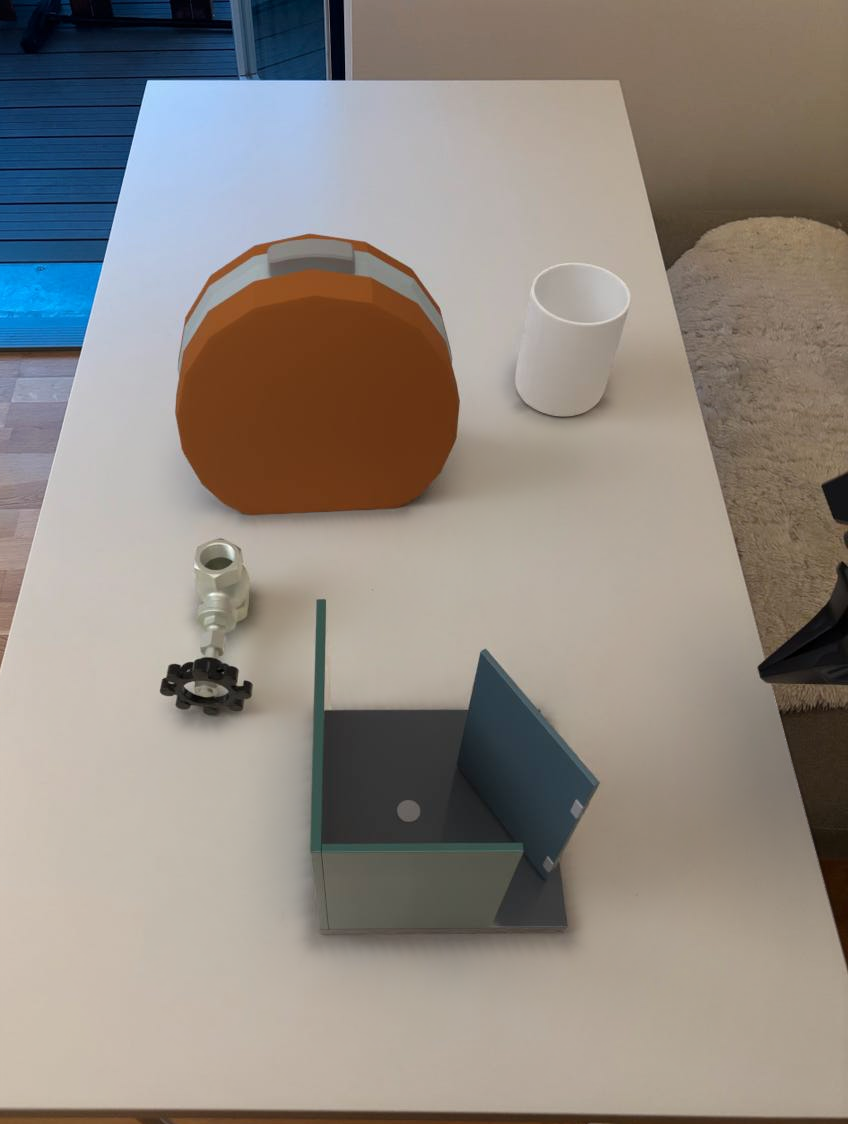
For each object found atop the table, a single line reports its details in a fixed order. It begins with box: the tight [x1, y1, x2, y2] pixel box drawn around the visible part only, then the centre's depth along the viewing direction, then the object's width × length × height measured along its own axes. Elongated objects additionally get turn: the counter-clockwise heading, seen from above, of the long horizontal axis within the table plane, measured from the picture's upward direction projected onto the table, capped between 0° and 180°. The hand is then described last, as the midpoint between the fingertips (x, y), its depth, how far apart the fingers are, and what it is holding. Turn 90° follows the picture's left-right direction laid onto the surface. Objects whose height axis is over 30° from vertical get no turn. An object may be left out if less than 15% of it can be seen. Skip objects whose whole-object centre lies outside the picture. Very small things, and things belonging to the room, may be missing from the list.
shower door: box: [456, 648, 601, 880], centre depth 56 cm, size 2×10×15 cm, turn 33°
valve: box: [159, 537, 254, 717], centre depth 69 cm, size 7×7×12 cm
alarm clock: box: [174, 233, 461, 516], centre depth 72 cm, size 22×10×23 cm, turn 94°
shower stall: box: [309, 598, 569, 935], centre depth 58 cm, size 16×16×15 cm
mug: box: [514, 262, 632, 417], centre depth 84 cm, size 9×12×11 cm
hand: (761, 675), depth 56 cm, fingers closed
